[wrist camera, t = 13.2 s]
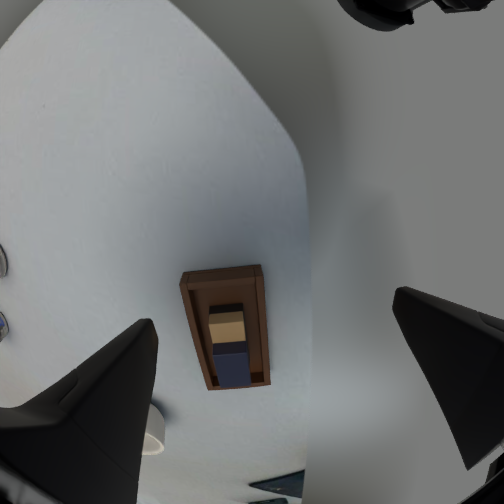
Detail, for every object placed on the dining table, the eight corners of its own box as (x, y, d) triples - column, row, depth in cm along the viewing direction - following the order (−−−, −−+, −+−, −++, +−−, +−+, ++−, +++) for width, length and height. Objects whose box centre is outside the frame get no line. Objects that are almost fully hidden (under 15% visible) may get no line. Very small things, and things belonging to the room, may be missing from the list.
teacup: (175, 401, 27) (169, 438, 22) (163, 428, 30) (158, 460, 25) (95, 372, 25) (80, 406, 20) (94, 403, 27) (83, 433, 22)
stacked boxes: (249, 354, 24) (252, 386, 21) (219, 357, 24) (219, 389, 21) (242, 302, 22) (245, 332, 18) (209, 305, 22) (206, 336, 18)
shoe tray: (260, 264, 21) (263, 275, 20) (268, 371, 26) (270, 385, 24) (182, 272, 21) (178, 284, 19) (208, 376, 26) (207, 390, 24)
